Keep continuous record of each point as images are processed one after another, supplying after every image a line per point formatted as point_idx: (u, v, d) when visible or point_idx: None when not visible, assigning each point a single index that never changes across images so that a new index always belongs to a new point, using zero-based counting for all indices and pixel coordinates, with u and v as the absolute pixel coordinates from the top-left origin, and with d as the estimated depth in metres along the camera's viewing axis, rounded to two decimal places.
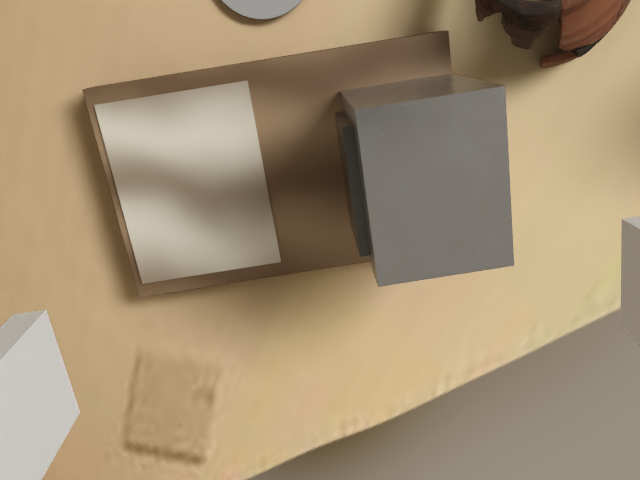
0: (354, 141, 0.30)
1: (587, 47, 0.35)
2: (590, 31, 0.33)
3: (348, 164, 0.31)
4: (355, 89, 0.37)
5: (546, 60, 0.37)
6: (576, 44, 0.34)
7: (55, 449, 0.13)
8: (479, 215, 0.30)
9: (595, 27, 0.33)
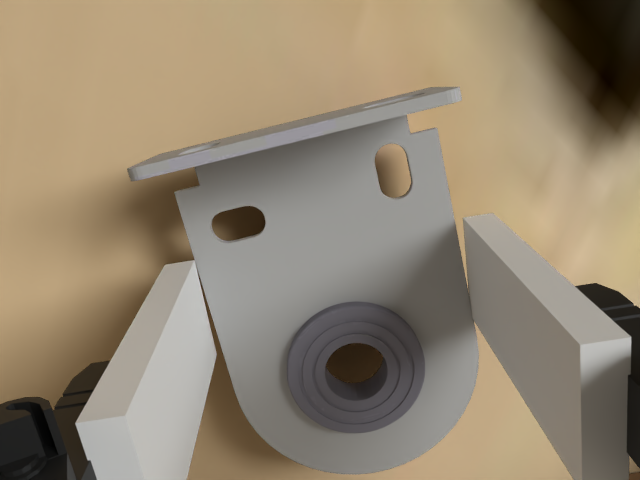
0: None
1: None
2: None
3: None
4: None
5: None
6: None
7: (208, 382, 0.14)
8: None
9: None
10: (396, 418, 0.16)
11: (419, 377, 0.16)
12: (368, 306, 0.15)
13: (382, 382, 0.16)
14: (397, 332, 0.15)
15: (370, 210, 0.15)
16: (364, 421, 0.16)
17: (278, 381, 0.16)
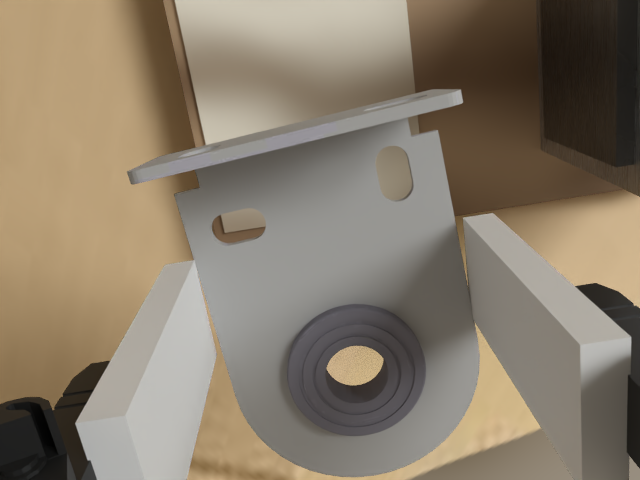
0: None
1: None
2: None
3: (619, 2, 0.18)
4: None
5: None
6: None
7: (208, 382, 0.14)
8: None
9: None
10: (397, 421, 0.16)
11: (420, 380, 0.16)
12: (369, 309, 0.15)
13: (382, 384, 0.16)
14: (398, 335, 0.15)
15: (371, 212, 0.15)
16: (365, 424, 0.16)
17: (278, 384, 0.16)
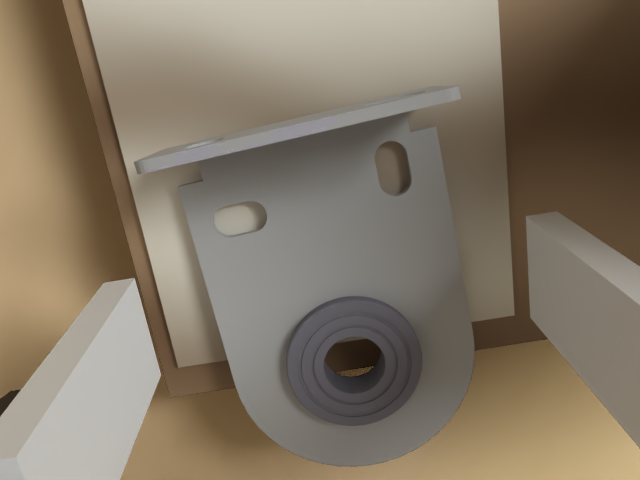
0: None
1: None
2: None
3: None
4: None
5: None
6: None
7: (146, 405, 0.14)
8: None
9: None
10: (393, 411, 0.16)
11: (416, 371, 0.16)
12: (367, 300, 0.16)
13: (380, 375, 0.16)
14: (395, 326, 0.16)
15: (369, 206, 0.15)
16: (362, 414, 0.16)
17: (277, 374, 0.16)
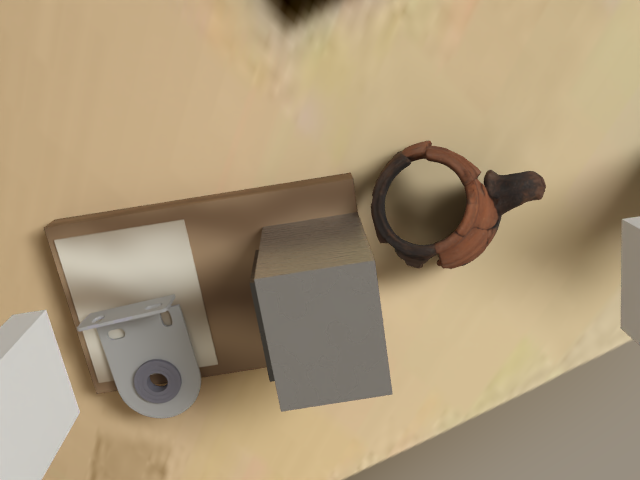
0: None
1: (468, 262, 0.43)
2: (464, 258, 0.42)
3: (256, 311, 0.37)
4: (275, 227, 0.43)
5: (440, 263, 0.46)
6: (456, 265, 0.42)
7: (55, 449, 0.13)
8: (361, 356, 0.36)
9: (468, 256, 0.42)
10: (172, 398, 0.47)
11: (178, 384, 0.46)
12: (160, 361, 0.46)
13: (167, 386, 0.47)
14: (170, 369, 0.46)
15: (159, 330, 0.46)
16: (161, 399, 0.47)
17: (132, 385, 0.47)
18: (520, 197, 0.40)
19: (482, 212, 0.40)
